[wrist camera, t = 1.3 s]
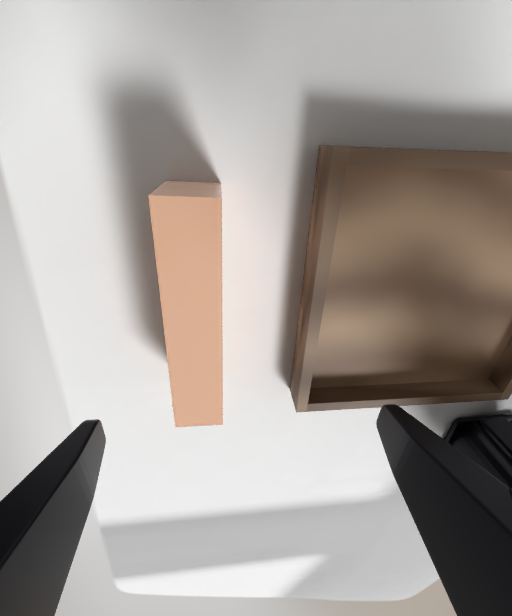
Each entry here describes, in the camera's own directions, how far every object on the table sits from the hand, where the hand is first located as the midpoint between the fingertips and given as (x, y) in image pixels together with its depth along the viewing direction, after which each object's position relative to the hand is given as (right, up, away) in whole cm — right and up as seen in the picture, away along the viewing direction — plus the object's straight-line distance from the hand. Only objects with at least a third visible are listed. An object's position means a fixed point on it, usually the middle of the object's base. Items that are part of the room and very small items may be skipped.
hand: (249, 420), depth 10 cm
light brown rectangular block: (-4, +5, +11) cm, 12 cm away
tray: (+12, +5, +12) cm, 18 cm away
